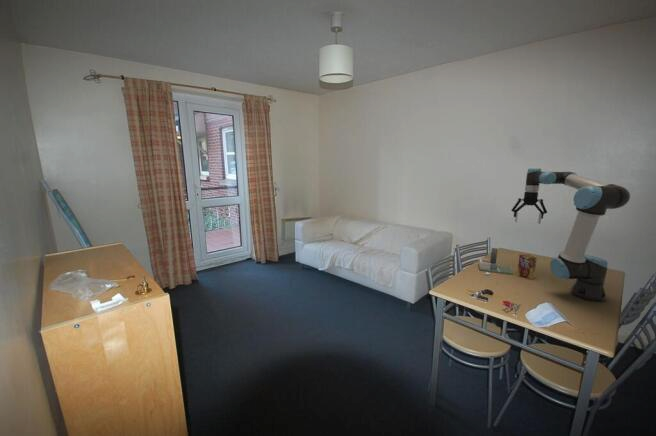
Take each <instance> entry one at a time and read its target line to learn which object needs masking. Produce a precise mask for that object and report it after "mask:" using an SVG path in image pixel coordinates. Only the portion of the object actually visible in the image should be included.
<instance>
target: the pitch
mask: <svg viewBox="0 0 656 436" xmlns="http://www.w3.org/2000/svg"><path fill="white" fill-rule="evenodd" d="M488 261H490V260H489V259H487V258H479V259H478V263H477V267H478V269H479V271H480V272H487V273H494V274H502V275H504V274H505V275H512V276H513V275H514V272H513V271H512V270H511V268H510V267H509V266H502V265H498V267H497V269H490V265H491V264H490V263H488ZM484 262H487V263H484Z"/></svg>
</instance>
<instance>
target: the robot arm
mask: <svg viewBox="0 0 656 436" xmlns="http://www.w3.org/2000/svg"><path fill="white" fill-rule="evenodd" d="M525 179H526V180H525V186H524V187H525V188H524V193H523V194H524V195H523V198H520V197H518V198H517V201H516V203H515V204H514V205H513V206H512V208H511V212H513V217H514V222H515V223H517V222H518V217H519V211H520V210H521V209H523V208H524V207H525V206H534V207H535V208H536V209H537V210H538V211H539V214H538V220H537V224H541V221H542V219H543V218H544V214H547V213H548V211H547V208H546V207H545V204H544V199H542V198H540V199H539V198H538V197H539V190H540V185H541V184H542V185H565V186H567V187H570V188H571V189H572V188H573V189H576V190H577V191H576V192H575V193H574V195H573V204H574V206H575V210H576V211H577V215H576V218H575V220H574V223H573V225H572V228H571V231H570V234H569V237H568V239H567V242H566V244H565V248H564V249H563V251H560V252H559V254H558V256H557V257H553V258H551V260H550V263H549V267H550V271H551V272H552V274H553V275H554V276H555V277H556V278H558V279H561V280H562V279H563V280H576V281H574V283H573V285H572V286H571V288H570V293H571V295H574V296H575V297H577V298H580V299H583V300H587V301H591V302H601V303H602V302H605V301H606V298H607V294H606V291H605V282H606V277H607V271H608V264H609V263H608V261H607V260H606V259H604V258H601V257H598V256H594V255H590V254H585V253H586V252H587V248H588V246H589V244H590V241H591V239H592V236H593V234H594V231H595V230H596V227H597V225H598V221H599V220H600V217H602V216H605V214H606V212H607V210H611V209H612V210H614V209H620V208H623V207H624V206H625V205H627V204H628V202H630V199H631V193H630V191H629V190H628V189H627V188H626V187H624V186H621V185H618V184H613V183H608V184H607V183H603V182H600V181H598V180H594V179H591V178H588V177H584V176H582V175H578V174H577V173H576V172H574V171H542V169H541V168H539V167H538V168H537V167H535V168H534V167H530V168H528V169H527V172H526V178H525ZM521 202H523V203H521ZM537 203H539V204H540V206H541V208H540V206H539V205H538V204H537ZM520 204H521V205H520Z"/></svg>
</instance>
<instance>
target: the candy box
mask: <svg viewBox="0 0 656 436" xmlns="http://www.w3.org/2000/svg"><path fill="white" fill-rule="evenodd" d="M518 257H519V258H518V265H517V266H518V267H517V273H516V276H517V277H522V278H526V279H530V280H533V279H534V278H535V273H536V265H537V258H538V256H537V255H535V254H534V255H533V254H527V253H523V252H522V253H519V256H518Z"/></svg>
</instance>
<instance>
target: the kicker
mask: <svg viewBox="0 0 656 436" xmlns="http://www.w3.org/2000/svg"><path fill="white" fill-rule="evenodd" d="M498 250H499V249H498V248H497V247H491V251H490V260H489V261H488V263H490V264H491V265H490V269H497V267H498V266H499V264H498V263H497V256H498Z"/></svg>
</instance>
